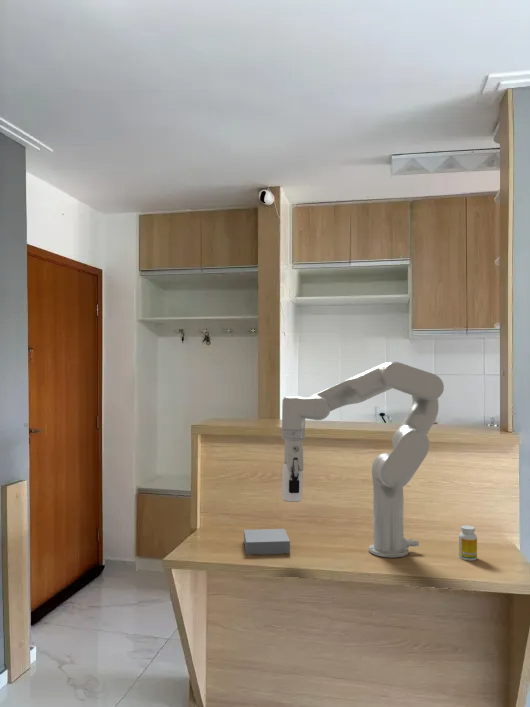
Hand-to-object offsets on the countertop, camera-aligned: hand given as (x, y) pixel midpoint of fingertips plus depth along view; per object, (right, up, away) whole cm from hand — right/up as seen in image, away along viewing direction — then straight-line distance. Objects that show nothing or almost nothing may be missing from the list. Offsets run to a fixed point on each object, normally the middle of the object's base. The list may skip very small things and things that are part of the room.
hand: (292, 489), depth 186 cm
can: (0, -3, 0) cm, 3 cm away
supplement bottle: (+55, -20, -6) cm, 59 cm away
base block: (-8, -20, +5) cm, 22 cm away
